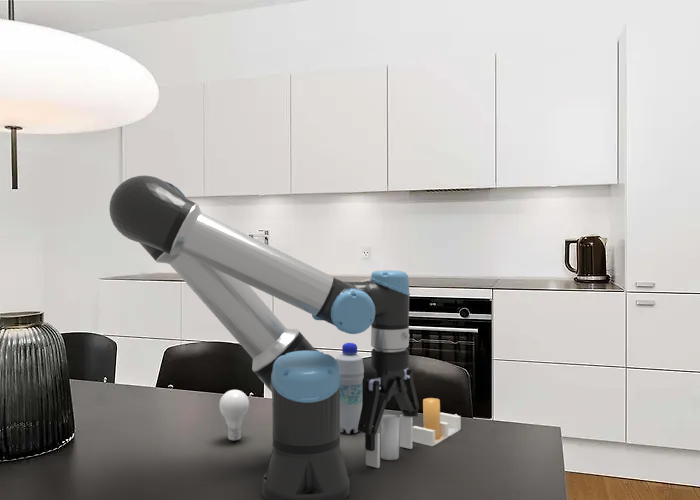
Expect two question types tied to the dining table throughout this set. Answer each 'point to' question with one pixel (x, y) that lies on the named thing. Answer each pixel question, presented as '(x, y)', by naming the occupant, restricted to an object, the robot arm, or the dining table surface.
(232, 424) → the lightbulb
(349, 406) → the bottle
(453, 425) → the rack
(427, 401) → the orange plug
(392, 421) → the grey plug
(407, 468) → the dining table surface
